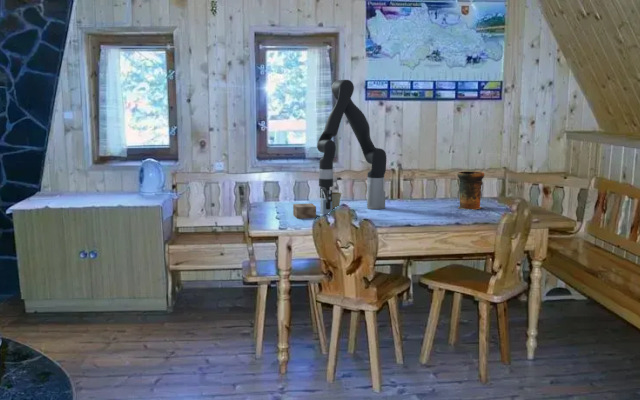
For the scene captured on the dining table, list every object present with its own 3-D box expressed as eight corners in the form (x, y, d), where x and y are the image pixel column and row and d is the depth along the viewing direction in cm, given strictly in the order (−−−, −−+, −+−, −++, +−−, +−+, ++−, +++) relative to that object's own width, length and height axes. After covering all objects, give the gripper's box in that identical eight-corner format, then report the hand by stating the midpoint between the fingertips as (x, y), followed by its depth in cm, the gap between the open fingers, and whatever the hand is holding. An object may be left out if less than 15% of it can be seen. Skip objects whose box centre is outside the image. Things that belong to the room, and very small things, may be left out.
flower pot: (321, 209, 351) (321, 193, 349) (329, 206, 359) (329, 191, 358) (337, 210, 347) (337, 195, 345) (344, 208, 355) (344, 192, 353)
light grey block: (329, 212, 341) (329, 197, 340) (332, 214, 337) (332, 199, 335) (320, 213, 340) (320, 198, 339) (323, 214, 335) (323, 199, 334)
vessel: (477, 211, 344) (477, 174, 341) (452, 208, 353) (453, 172, 350) (487, 207, 355) (488, 171, 353) (463, 205, 364) (464, 170, 361)
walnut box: (312, 214, 337) (311, 203, 336) (316, 218, 327) (316, 206, 326) (293, 215, 335) (293, 204, 334) (296, 218, 325) (296, 207, 324)
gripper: (337, 179, 329) (336, 210, 332) (328, 175, 343) (328, 205, 345) (323, 179, 327) (322, 210, 330) (315, 176, 341) (315, 206, 343)
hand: (325, 208), depth 338 cm, fingers open, 8 cm apart
